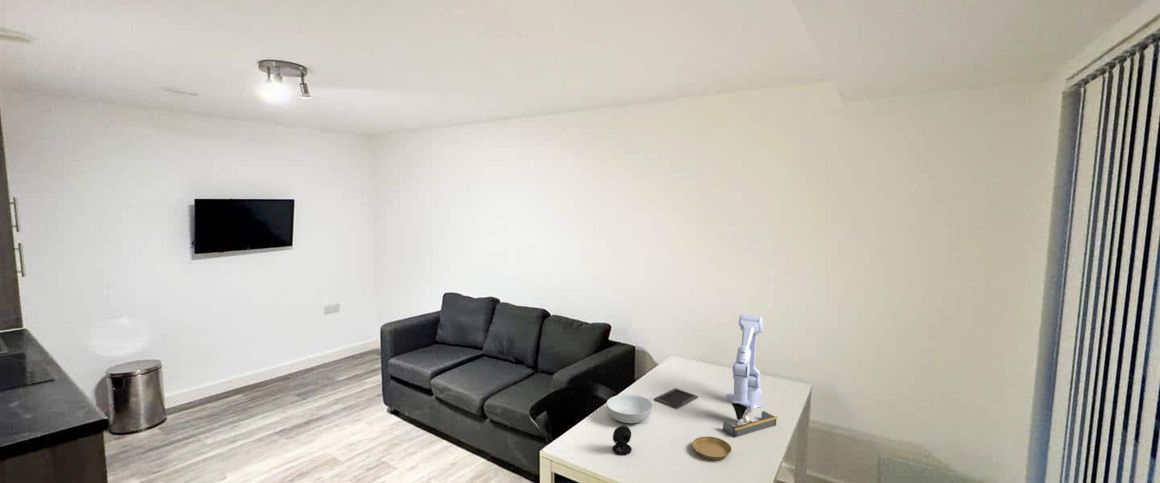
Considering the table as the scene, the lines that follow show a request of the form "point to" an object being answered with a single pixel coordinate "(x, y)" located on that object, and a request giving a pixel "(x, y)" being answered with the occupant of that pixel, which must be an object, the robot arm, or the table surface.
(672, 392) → the picture frame
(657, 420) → the table surface
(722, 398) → the table surface
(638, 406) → the serving bowl
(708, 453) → the plant saucer
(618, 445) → the webcam
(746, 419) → the hook
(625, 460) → the table surface
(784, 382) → the table surface
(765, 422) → the tray
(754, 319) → the robot arm
